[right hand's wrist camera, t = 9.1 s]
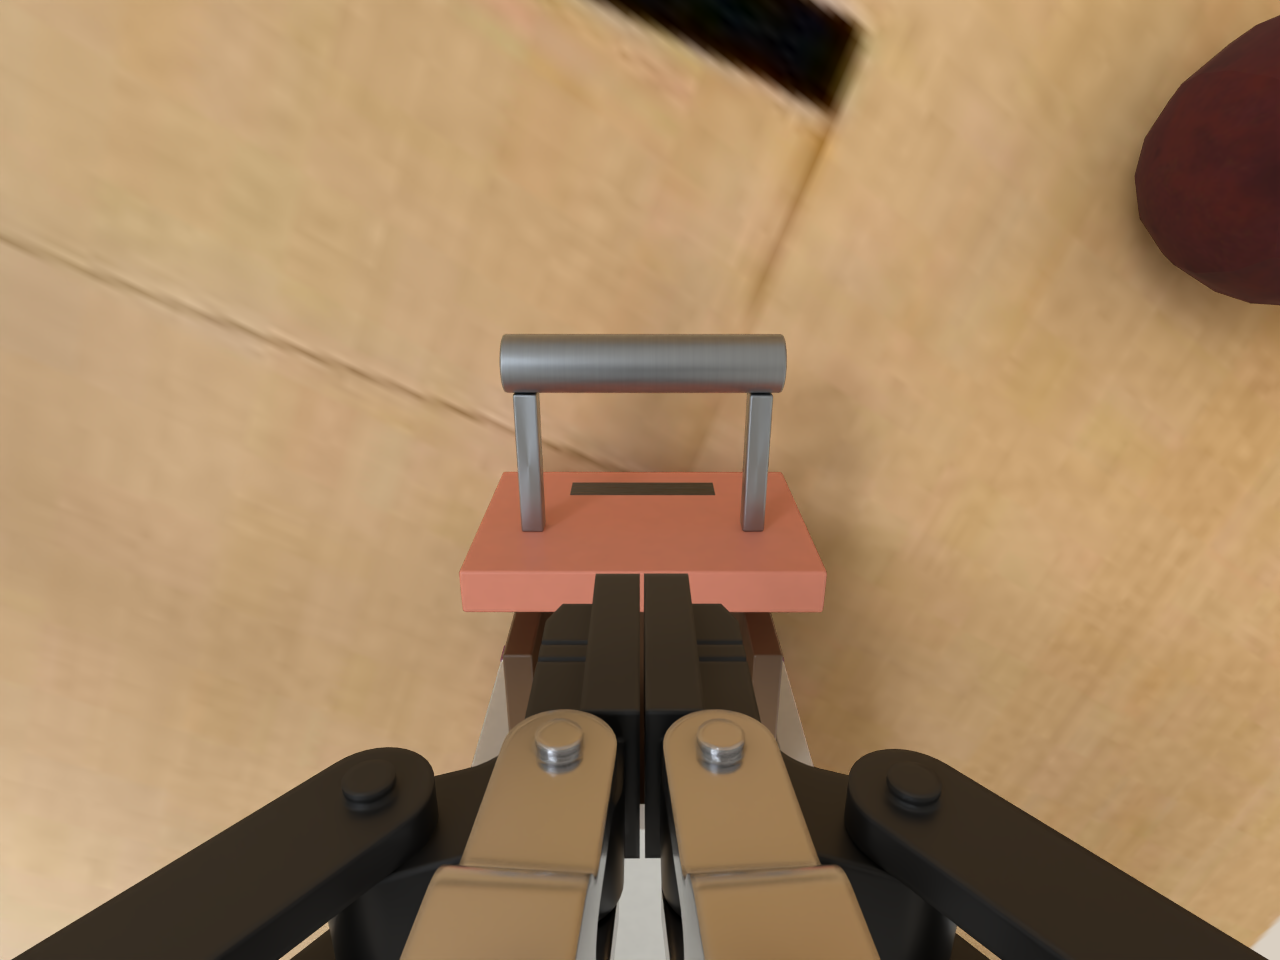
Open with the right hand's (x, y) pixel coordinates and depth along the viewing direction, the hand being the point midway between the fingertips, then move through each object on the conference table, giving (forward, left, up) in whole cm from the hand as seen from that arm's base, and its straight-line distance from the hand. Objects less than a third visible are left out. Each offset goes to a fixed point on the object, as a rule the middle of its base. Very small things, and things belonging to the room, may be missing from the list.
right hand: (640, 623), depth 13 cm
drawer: (+7, 0, -13) cm, 14 cm away
